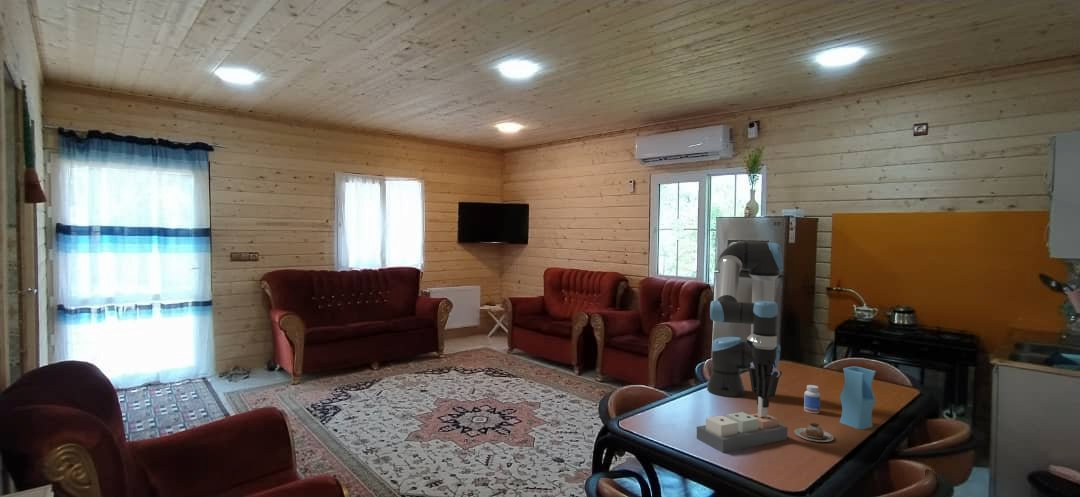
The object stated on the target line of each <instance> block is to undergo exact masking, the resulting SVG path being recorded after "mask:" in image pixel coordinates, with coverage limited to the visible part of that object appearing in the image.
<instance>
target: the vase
mask: <svg viewBox="0 0 1080 497" xmlns="http://www.w3.org/2000/svg"><path fill="white" fill-rule="evenodd" d="M842 369H843V374H844V375H843V376H844V385H843V388H842V391H841V394H840V396H839V399H840V402H841V410H842V411H841V416H840V420H839V423H840V424H843V425H846V426H849V427H851V428H854V429H856V430H857V429H858V430H865V429H869V428H873V421H872V420H873V419H872V416H873V415H872V414H873V410H874V405H875V403H876V396H875V394H874V391H873V381H874V378H875V375H876V373H877V371H876V370H872V369H868V368H865V367H860V366H847V367H843V368H842Z"/></svg>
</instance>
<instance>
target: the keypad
mask: <svg viewBox="0 0 1080 497" xmlns="http://www.w3.org/2000/svg"><path fill="white" fill-rule="evenodd" d="M696 439H697V440H699V441H701V442H702V443H704V444H706V445H708V446H709V447H712V448H713V449H715V450H717V451H719V452H721V453H728V452H732V451H737V450H742V449H747V448H751V447H757V446H761V445H765V444H770V443H774V442H780V441H786V440H788V426H786V425H783V424H782V423H778V426H775V427H770V428H765V429H762V428H760V427H758V430H755V431H750V432H744V433H742V432H739V431H738V434H734V435H729V436H724V437H720V436H718V435H716V434H714V433H712V432H710V431H708V430H706V424H704V425H699V426H696Z"/></svg>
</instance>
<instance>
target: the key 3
mask: <svg viewBox="0 0 1080 497" xmlns="http://www.w3.org/2000/svg"><path fill="white" fill-rule="evenodd" d="M750 415H751V416H753V417H756V418H758V419H759V425H758V427H760V428H762V429H765V428H770V427H775V426H778V424H779V418H776V417H774V416H772V415H769V414H767V416H765V417H760V416H758V412H756V413H753V414H750Z"/></svg>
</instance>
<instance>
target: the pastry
mask: <svg viewBox="0 0 1080 497" xmlns="http://www.w3.org/2000/svg"><path fill="white" fill-rule="evenodd" d="M802 433H804V435H805V436H803V435H802ZM794 434H795V435H796V436H798V437H799V438H801V439H803V440H806V441H807V442H818V443H822V442H823V443H825V442H826V443H827V442H832V441H833V440H834V439H835V437H834V435H832V434H831V433H830V432H827V431H825V430H823V428H822V427H821V426H820V424H819V423H816V422H812V423H810V424H809V425H807V427H799V428H795V430H794ZM825 438H826V439H825ZM822 439H823V440H822ZM824 439H825V440H824Z"/></svg>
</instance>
